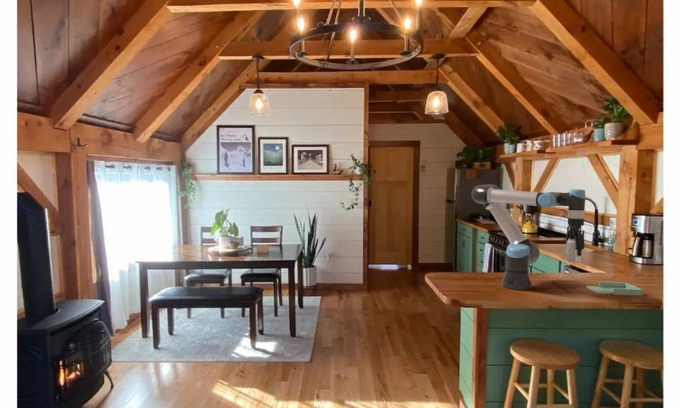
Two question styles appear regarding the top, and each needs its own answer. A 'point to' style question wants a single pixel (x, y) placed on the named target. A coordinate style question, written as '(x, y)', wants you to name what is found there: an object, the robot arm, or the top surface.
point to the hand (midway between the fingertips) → (573, 259)
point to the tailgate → (598, 290)
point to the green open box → (620, 288)
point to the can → (571, 250)
